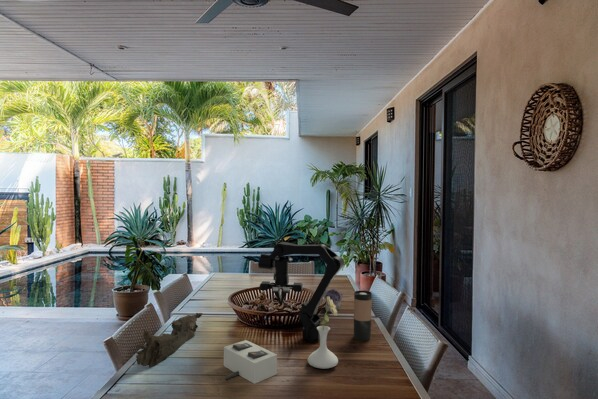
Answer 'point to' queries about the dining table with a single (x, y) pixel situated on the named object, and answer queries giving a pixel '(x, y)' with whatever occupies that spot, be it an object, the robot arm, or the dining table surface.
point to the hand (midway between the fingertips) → (281, 305)
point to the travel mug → (362, 315)
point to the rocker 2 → (256, 354)
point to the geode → (335, 297)
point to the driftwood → (166, 341)
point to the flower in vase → (324, 344)
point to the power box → (250, 363)
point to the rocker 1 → (241, 346)
